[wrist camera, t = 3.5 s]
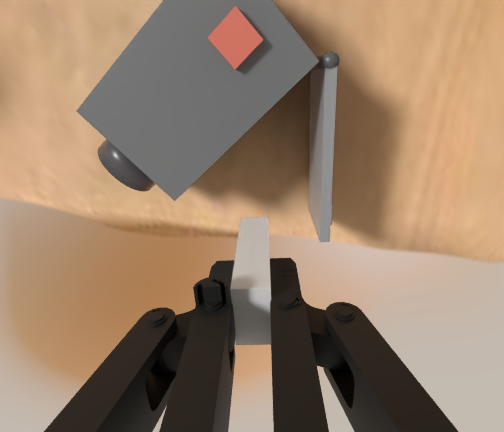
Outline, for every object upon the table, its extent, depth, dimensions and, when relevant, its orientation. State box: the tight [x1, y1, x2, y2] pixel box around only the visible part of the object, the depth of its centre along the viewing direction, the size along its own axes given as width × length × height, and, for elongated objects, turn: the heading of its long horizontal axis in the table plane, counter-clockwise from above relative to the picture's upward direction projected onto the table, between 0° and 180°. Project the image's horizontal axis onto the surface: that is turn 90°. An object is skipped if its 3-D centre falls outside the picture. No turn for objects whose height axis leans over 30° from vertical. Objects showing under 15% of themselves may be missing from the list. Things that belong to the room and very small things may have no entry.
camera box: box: [77, 0, 319, 201], centre depth 25 cm, size 17×9×9 cm, turn 133°
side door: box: [309, 52, 339, 242], centre depth 27 cm, size 14×2×7 cm, turn 3°
